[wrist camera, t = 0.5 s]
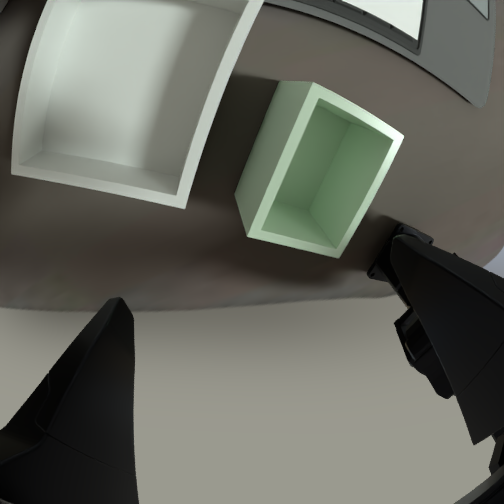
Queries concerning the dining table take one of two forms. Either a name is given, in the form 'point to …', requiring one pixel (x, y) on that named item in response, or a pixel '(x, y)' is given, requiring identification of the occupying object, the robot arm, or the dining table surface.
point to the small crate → (313, 169)
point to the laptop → (423, 34)
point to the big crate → (126, 92)
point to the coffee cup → (2, 4)
